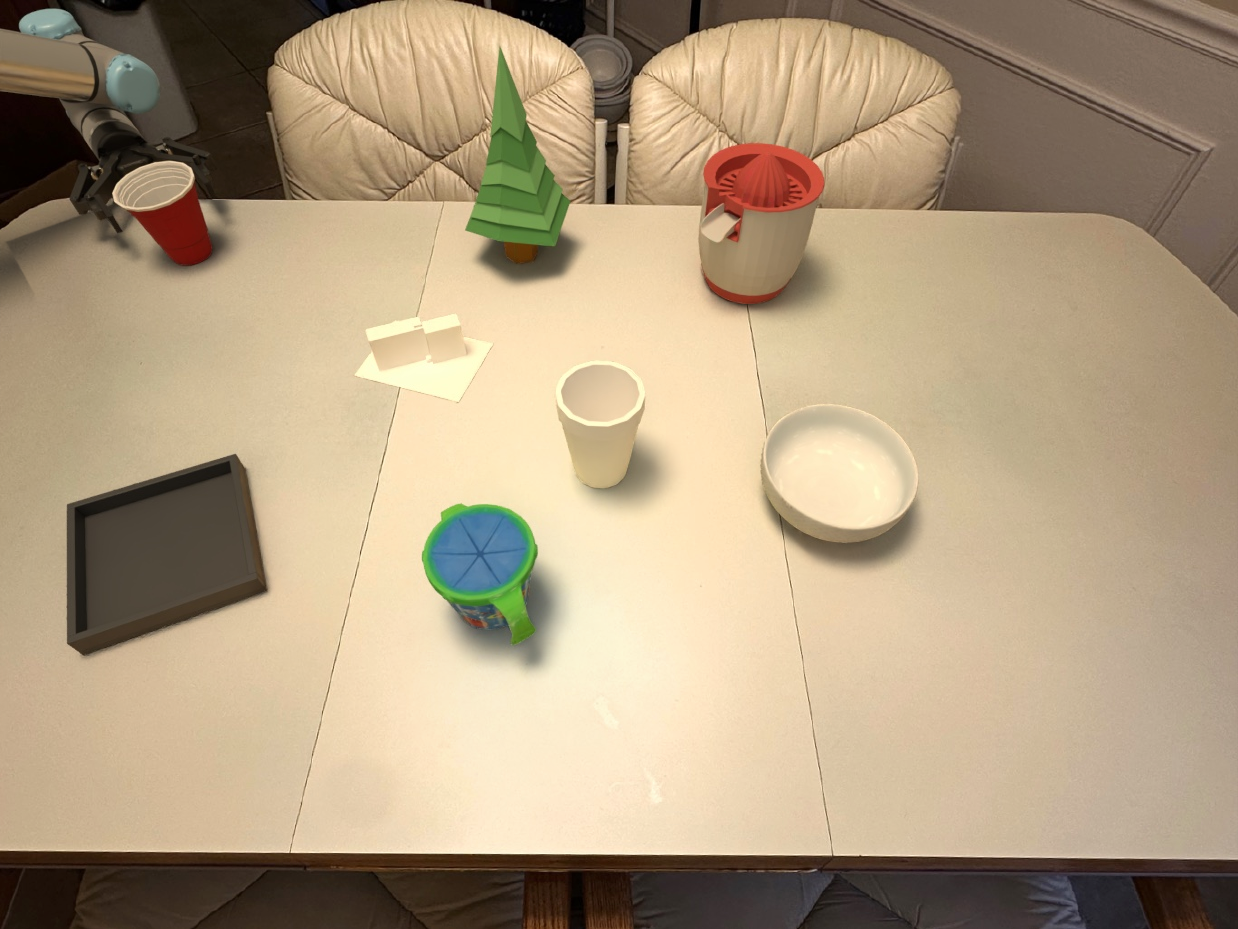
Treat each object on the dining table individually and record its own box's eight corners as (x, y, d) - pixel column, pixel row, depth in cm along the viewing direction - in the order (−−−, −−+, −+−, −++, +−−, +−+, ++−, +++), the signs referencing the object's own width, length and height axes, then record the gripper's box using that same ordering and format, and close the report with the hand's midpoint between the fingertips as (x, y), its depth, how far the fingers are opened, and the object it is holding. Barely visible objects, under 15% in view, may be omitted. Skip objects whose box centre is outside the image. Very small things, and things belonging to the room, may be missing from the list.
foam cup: (556, 441, 90) (550, 365, 80) (631, 431, 92) (634, 355, 81) (567, 505, 85) (562, 432, 74) (647, 493, 86) (652, 420, 76)
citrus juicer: (660, 281, 109) (670, 154, 93) (740, 234, 116) (762, 108, 100) (740, 337, 102) (765, 209, 86) (819, 283, 109) (856, 156, 93)
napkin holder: (353, 376, 96) (340, 344, 92) (393, 320, 103) (383, 287, 98) (459, 402, 94) (452, 370, 89) (494, 342, 101) (488, 310, 96)
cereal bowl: (728, 463, 89) (736, 425, 83) (848, 426, 93) (864, 387, 87) (798, 581, 79) (813, 548, 74) (928, 535, 83) (952, 499, 77)
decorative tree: (582, 273, 110) (576, 64, 86) (477, 290, 107) (440, 79, 83) (562, 220, 118) (552, 14, 94) (463, 234, 115) (426, 26, 91)
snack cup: (420, 560, 80) (399, 508, 72) (510, 523, 83) (500, 469, 75) (470, 686, 72) (453, 643, 64) (569, 640, 75) (565, 593, 67)
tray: (80, 517, 83) (66, 503, 81) (245, 467, 87) (235, 453, 85) (82, 655, 73) (66, 643, 71) (267, 591, 78) (257, 578, 75)
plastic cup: (141, 250, 111) (97, 178, 102) (212, 223, 116) (176, 151, 106) (167, 287, 106) (124, 214, 97) (240, 257, 111) (206, 185, 101)
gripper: (206, 141, 125) (257, 199, 115) (47, 193, 115) (87, 261, 106) (186, 97, 119) (238, 154, 109) (16, 147, 109) (56, 215, 100)
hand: (164, 207), depth 107 cm, fingers open, 13 cm apart
